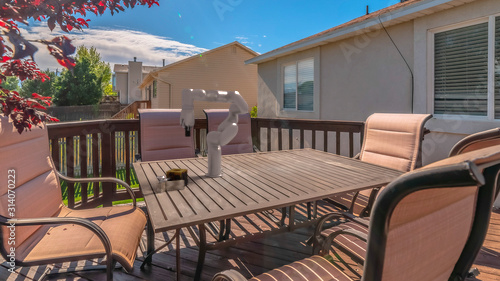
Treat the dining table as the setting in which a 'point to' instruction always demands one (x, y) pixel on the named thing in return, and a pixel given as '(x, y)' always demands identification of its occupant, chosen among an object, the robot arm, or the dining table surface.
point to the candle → (178, 175)
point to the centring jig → (170, 186)
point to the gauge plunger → (162, 178)
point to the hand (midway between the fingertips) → (187, 136)
